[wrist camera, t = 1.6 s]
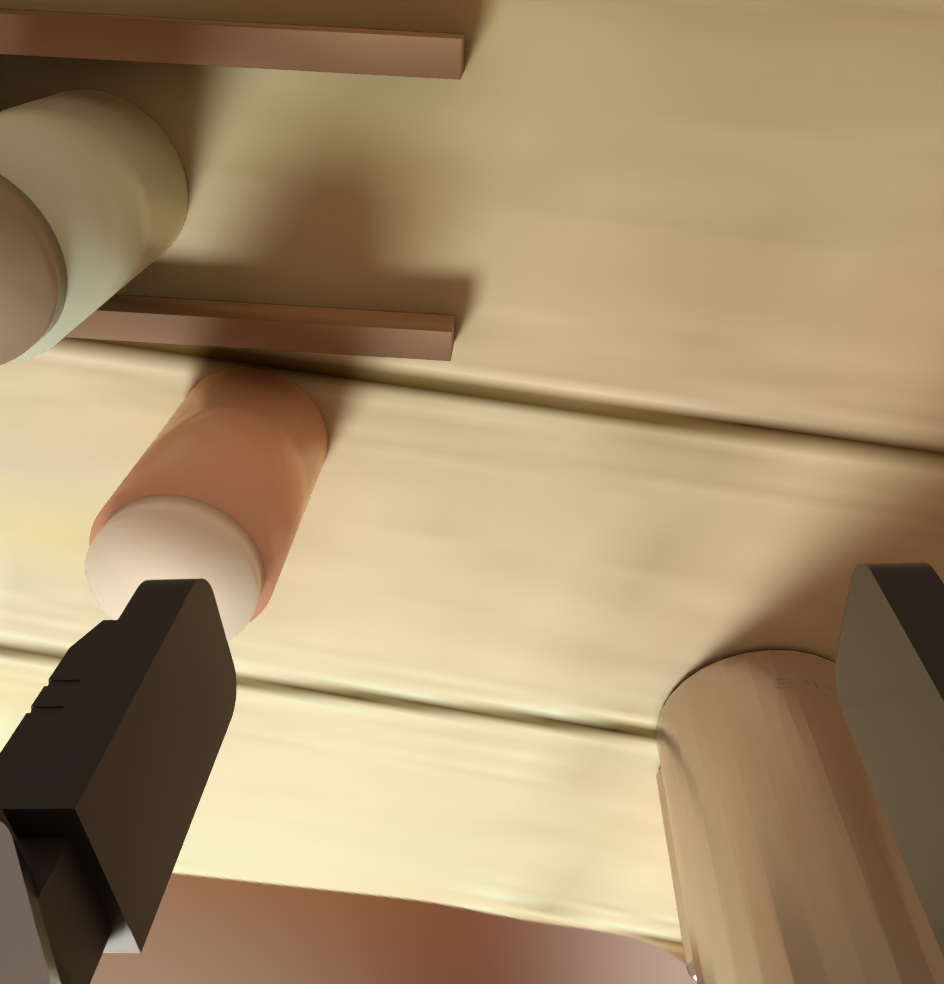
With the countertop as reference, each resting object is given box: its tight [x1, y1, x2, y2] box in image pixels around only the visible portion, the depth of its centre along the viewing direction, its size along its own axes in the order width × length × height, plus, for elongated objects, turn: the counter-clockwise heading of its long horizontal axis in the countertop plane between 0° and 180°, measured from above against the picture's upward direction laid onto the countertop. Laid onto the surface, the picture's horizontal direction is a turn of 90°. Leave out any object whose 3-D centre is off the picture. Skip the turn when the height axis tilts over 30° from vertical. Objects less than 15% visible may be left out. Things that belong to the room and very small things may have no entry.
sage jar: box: [0, 89, 188, 365], centre depth 24 cm, size 5×5×9 cm
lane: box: [0, 9, 465, 361], centre depth 26 cm, size 9×20×4 cm, turn 87°
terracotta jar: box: [85, 367, 328, 641], centre depth 29 cm, size 5×5×9 cm
